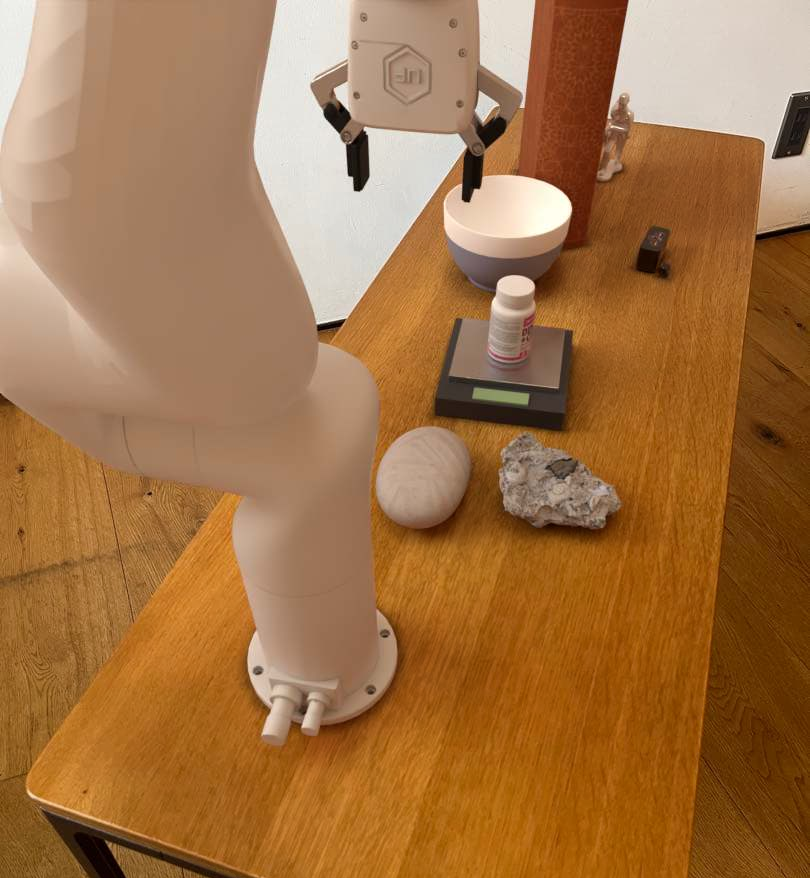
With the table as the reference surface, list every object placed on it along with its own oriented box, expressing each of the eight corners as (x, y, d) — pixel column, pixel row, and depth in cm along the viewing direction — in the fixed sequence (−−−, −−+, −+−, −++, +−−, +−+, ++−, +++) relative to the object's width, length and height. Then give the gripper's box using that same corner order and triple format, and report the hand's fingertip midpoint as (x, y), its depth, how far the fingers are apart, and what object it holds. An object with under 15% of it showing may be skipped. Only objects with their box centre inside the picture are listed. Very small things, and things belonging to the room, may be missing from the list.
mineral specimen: (524, 456, 83) (633, 492, 78) (477, 525, 77) (592, 568, 73) (525, 414, 79) (642, 449, 74) (475, 483, 73) (598, 526, 68)
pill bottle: (527, 367, 87) (536, 300, 80) (484, 362, 87) (490, 295, 81) (531, 341, 90) (540, 275, 83) (490, 336, 90) (496, 270, 84)
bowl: (547, 318, 98) (557, 247, 91) (425, 295, 102) (426, 225, 94) (571, 253, 108) (583, 184, 100) (460, 235, 111) (463, 167, 104)
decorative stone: (403, 441, 84) (402, 405, 80) (484, 461, 82) (487, 425, 78) (358, 527, 76) (355, 492, 72) (446, 551, 74) (448, 516, 70)
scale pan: (557, 394, 85) (558, 388, 84) (448, 381, 87) (448, 375, 86) (564, 334, 92) (565, 328, 91) (462, 323, 93) (463, 317, 93)
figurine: (628, 164, 125) (645, 82, 115) (614, 190, 119) (631, 106, 110) (599, 159, 126) (613, 78, 117) (583, 185, 120) (598, 101, 111)
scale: (561, 431, 85) (565, 411, 83) (434, 415, 87) (434, 395, 85) (570, 347, 94) (573, 328, 92) (454, 335, 96) (455, 315, 94)
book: (517, 171, 123) (541, -64, 100) (570, 171, 123) (606, -64, 100) (526, 248, 109) (556, -6, 86) (585, 249, 108) (632, -6, 85)
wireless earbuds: (632, 273, 105) (637, 250, 102) (645, 247, 109) (651, 225, 106) (666, 281, 103) (673, 258, 101) (679, 254, 107) (685, 232, 105)
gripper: (284, -38, 55) (308, 200, 68) (529, -25, 53) (506, 220, 66) (315, -65, 60) (332, 163, 73) (541, -53, 58) (517, 180, 71)
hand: (414, 190), depth 69 cm, fingers open, 9 cm apart
